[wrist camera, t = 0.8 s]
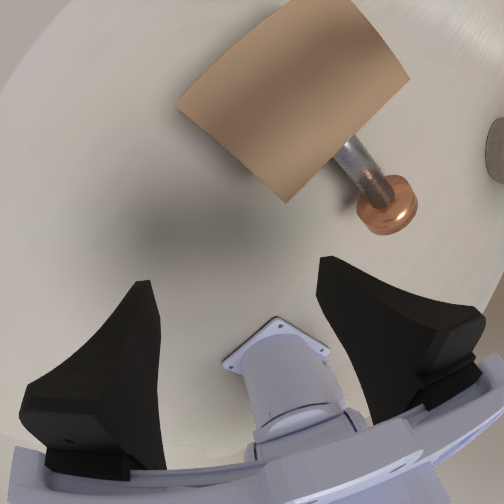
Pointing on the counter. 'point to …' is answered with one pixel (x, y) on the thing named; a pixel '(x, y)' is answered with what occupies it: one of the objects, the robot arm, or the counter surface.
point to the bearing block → (295, 90)
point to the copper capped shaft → (377, 191)
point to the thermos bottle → (496, 151)
